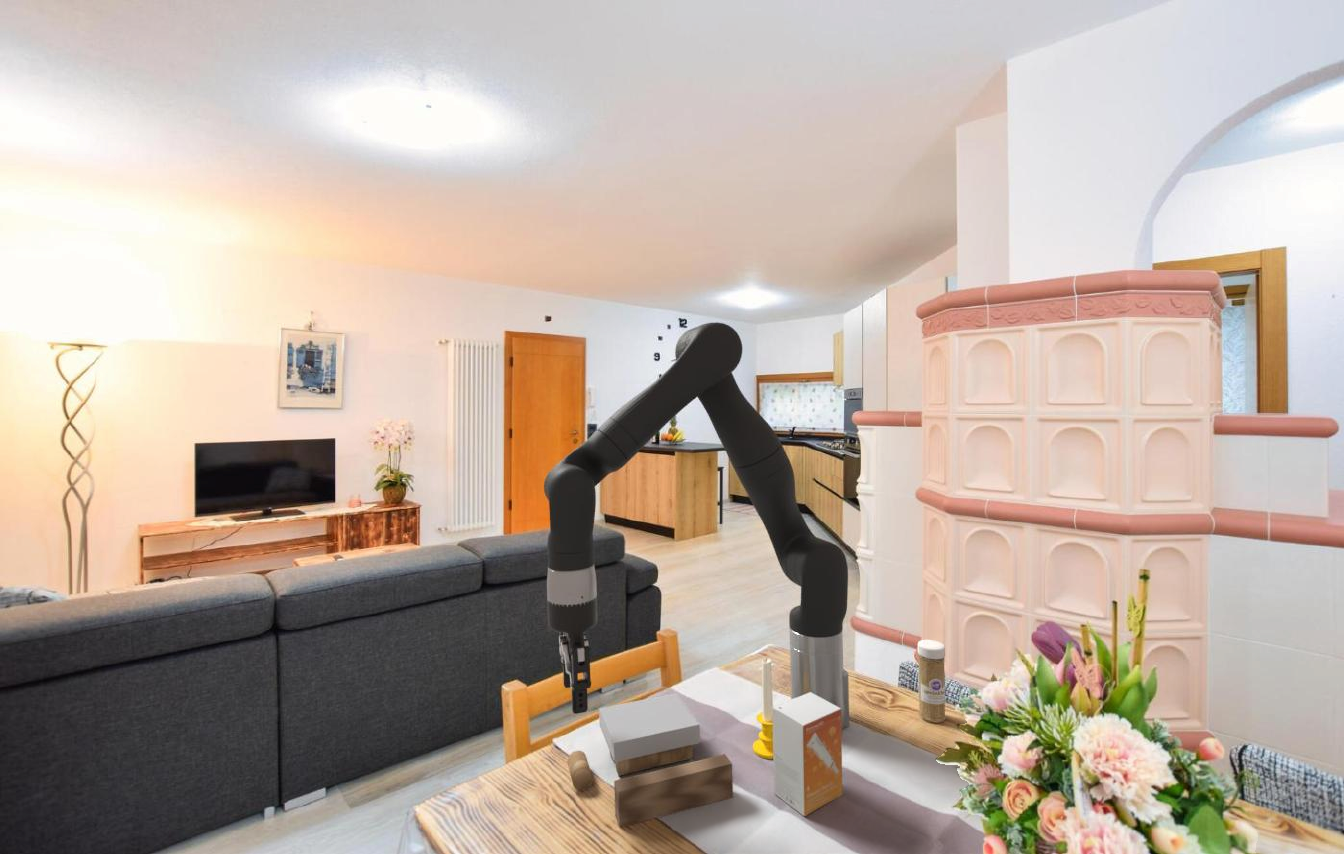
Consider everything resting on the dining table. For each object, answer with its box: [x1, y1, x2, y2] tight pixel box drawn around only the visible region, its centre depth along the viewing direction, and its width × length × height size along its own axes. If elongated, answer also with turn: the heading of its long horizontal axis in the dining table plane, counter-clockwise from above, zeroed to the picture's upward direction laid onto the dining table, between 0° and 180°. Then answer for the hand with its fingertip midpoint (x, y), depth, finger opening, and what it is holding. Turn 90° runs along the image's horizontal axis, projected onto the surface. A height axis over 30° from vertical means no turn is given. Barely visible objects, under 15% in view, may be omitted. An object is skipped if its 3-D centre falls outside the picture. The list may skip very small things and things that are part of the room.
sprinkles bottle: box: [917, 639, 947, 724], centre depth 104 cm, size 5×5×14 cm
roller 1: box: [566, 750, 594, 791], centre depth 90 cm, size 6×3×3 cm, turn 19°
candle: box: [752, 657, 774, 760], centre depth 96 cm, size 5×5×16 cm
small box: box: [772, 692, 843, 817], centre depth 85 cm, size 8×6×13 cm
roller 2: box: [615, 745, 694, 776], centre depth 93 cm, size 12×4×4 cm, turn 109°
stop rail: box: [613, 753, 734, 828], centre depth 83 cm, size 17×2×5 cm, turn 109°
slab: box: [598, 692, 701, 763], centre depth 95 cm, size 14×11×3 cm
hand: (575, 698), depth 89 cm, fingers open, 8 cm apart
